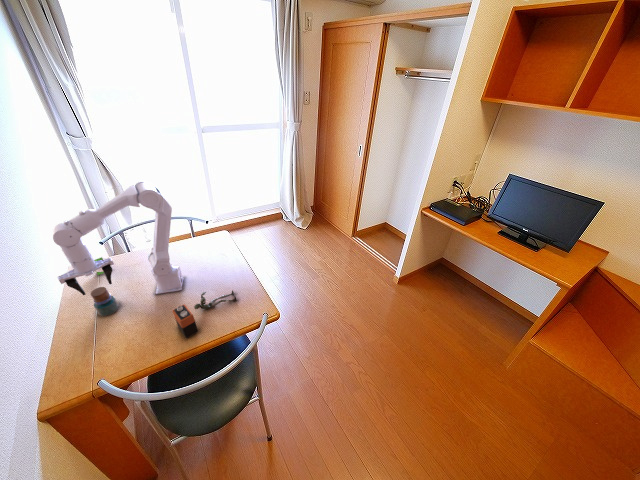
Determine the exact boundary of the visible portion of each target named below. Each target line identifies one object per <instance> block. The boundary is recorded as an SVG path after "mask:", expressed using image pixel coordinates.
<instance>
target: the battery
mask: <svg viewBox="0 0 640 480" xmlns="http://www.w3.org/2000/svg"><path fill="white" fill-rule="evenodd" d="M172 314H173V316H174V320H175V323H176V325H177V327H178V329H179V330H180V332H181V333H182V335H183V336H184V338H185V339H188V338H189V337H192V336H193V335H195V334H196V333H198V332H199V329H198V326H197V322H196V320H195V317H194V314H193V312H192V311H191V310H190V309H189V307H188V306H187V305H186V304H185V303H184V304H182V305H178V306H177V307H176V308H174V309H172Z"/></svg>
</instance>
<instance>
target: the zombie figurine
mask: <svg viewBox="0 0 640 480" xmlns="http://www.w3.org/2000/svg"><path fill="white" fill-rule="evenodd" d="M206 294H207V291H203V292H202V293H200V298H201V299H200V303H196V304H194V306H193V307H194V309H195V310H199V309H201V310H208V309H211V308H215V306H217V305H219V304H220V303H223V302H224V303H226V302H237V296H236V295H235V293H234V290H231V293H230V294H223V295H220V296H218V297H215V298H213V299H211V300H210V301H209V303H208V304H206V303H207V299H206V297H204V295H206ZM230 296H234V297H233V299H225V298H227V297H230Z"/></svg>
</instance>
